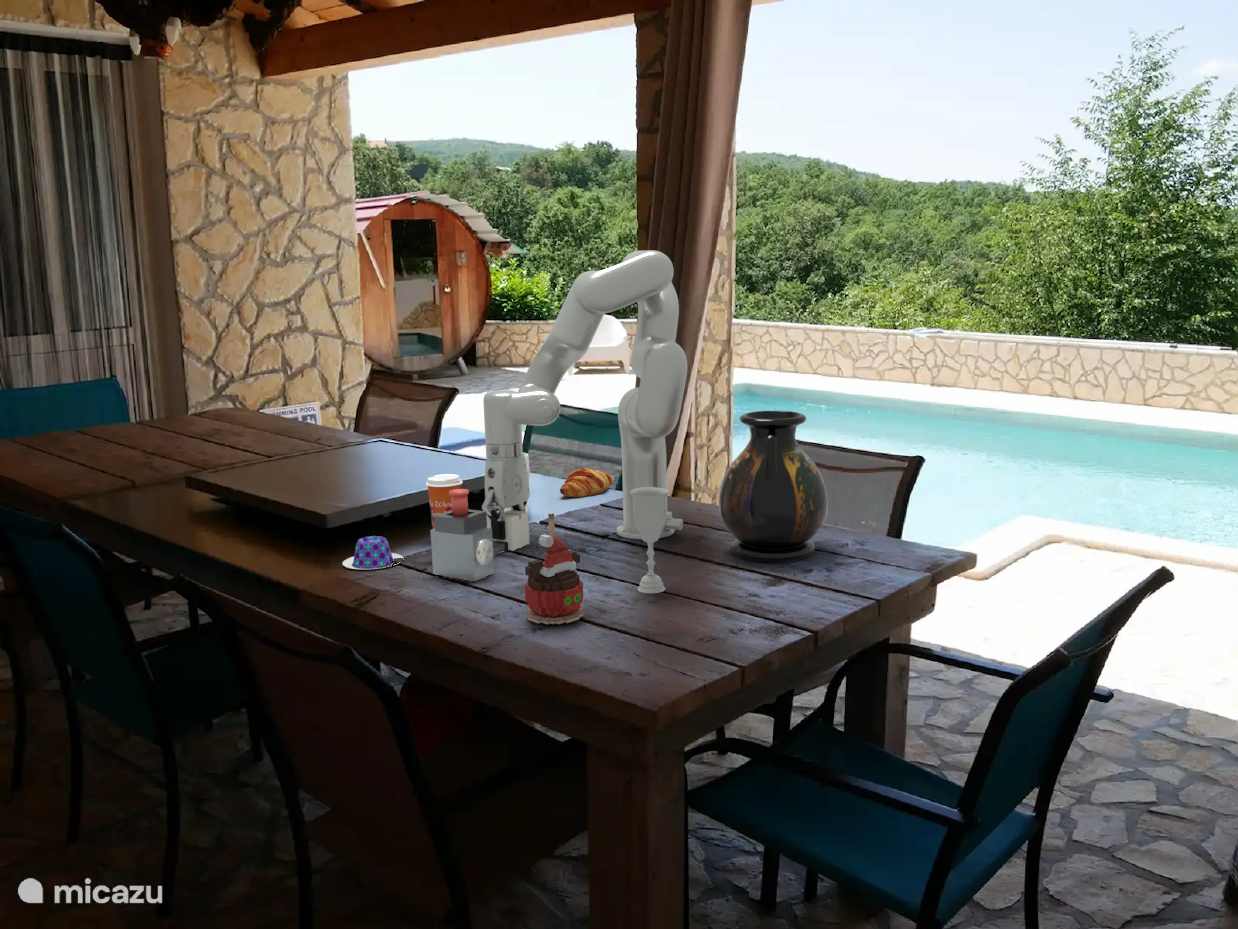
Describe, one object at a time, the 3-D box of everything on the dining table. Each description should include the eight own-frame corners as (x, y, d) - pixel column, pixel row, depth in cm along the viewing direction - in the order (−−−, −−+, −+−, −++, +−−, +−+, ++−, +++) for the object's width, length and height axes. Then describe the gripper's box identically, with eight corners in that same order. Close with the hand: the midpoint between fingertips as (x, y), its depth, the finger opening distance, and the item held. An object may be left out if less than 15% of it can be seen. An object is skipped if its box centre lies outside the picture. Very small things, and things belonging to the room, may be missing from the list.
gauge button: (473, 513, 205) (472, 489, 204) (462, 517, 202) (460, 493, 201) (458, 511, 207) (457, 488, 206) (446, 515, 203) (445, 492, 203)
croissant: (603, 496, 287) (592, 469, 288) (631, 482, 281) (618, 454, 282) (554, 511, 270) (542, 482, 271) (582, 496, 264) (569, 466, 265)
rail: (529, 543, 228) (529, 535, 228) (483, 562, 214) (483, 554, 214) (510, 540, 230) (510, 533, 230) (463, 559, 217) (463, 552, 216)
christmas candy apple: (561, 605, 187) (557, 503, 183) (597, 617, 180) (594, 512, 177) (512, 620, 180) (507, 515, 176) (548, 633, 173) (543, 524, 169)
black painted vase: (828, 570, 203) (829, 423, 197) (713, 567, 207) (712, 423, 201) (827, 540, 224) (828, 406, 218) (723, 538, 227) (722, 407, 222)
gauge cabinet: (497, 573, 207) (494, 512, 204) (475, 583, 201) (471, 520, 198) (454, 566, 212) (450, 507, 210) (431, 576, 206) (427, 515, 204)
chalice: (676, 592, 192) (674, 493, 188) (639, 597, 190) (637, 497, 186) (662, 581, 199) (660, 485, 195) (627, 585, 197) (624, 489, 193)
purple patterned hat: (336, 561, 219) (334, 536, 218) (394, 553, 224) (393, 528, 223) (350, 576, 208) (348, 550, 207) (410, 567, 214) (409, 541, 213)
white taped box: (529, 544, 227) (528, 511, 225) (513, 551, 222) (511, 517, 220) (504, 540, 230) (502, 508, 229) (487, 547, 225) (486, 514, 223)
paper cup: (422, 544, 230) (418, 479, 227) (440, 535, 237) (436, 472, 234) (455, 546, 227) (451, 481, 224) (472, 537, 234) (469, 474, 231)
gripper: (494, 459, 213) (498, 547, 216) (542, 445, 227) (546, 527, 231) (463, 456, 216) (468, 543, 220) (513, 442, 231) (517, 524, 234)
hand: (508, 534), depth 225 cm, fingers closed on white taped box, 6 cm apart
